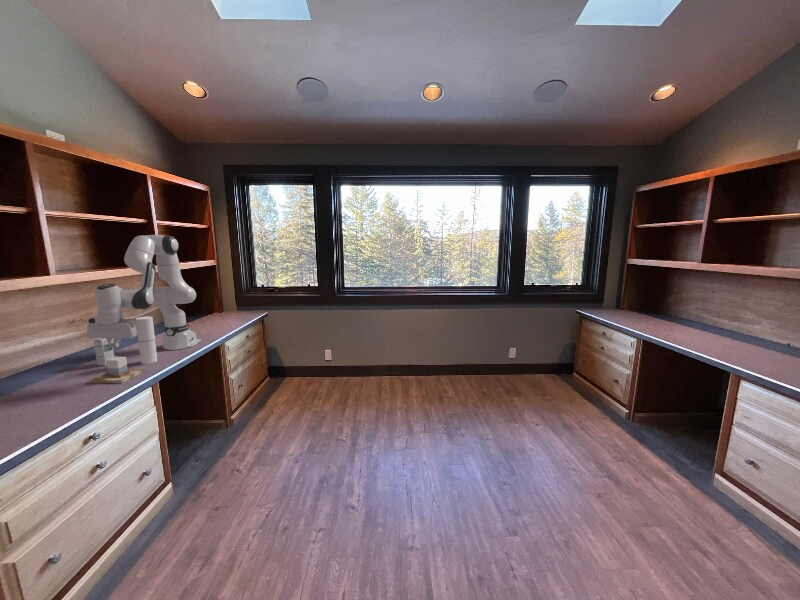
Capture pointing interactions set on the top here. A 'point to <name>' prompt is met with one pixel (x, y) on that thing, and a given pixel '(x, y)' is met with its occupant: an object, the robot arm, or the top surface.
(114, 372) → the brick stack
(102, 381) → the base plate
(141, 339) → the cylindrical container
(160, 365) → the top surface
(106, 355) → the syrup box
